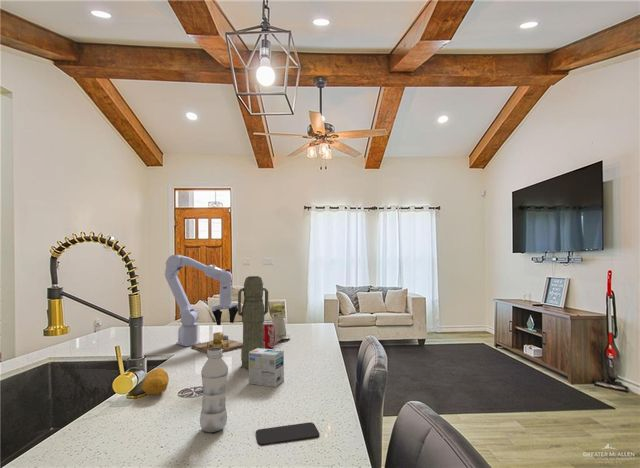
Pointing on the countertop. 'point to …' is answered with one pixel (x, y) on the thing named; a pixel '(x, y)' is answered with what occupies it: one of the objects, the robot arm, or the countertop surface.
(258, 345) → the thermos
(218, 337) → the brass gear
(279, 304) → the white paper bag
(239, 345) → the carrier plate
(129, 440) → the countertop surface
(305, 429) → the phone
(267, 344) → the soda can
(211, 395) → the plastic bottle
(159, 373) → the potato
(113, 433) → the countertop surface
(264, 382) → the light bulb box
